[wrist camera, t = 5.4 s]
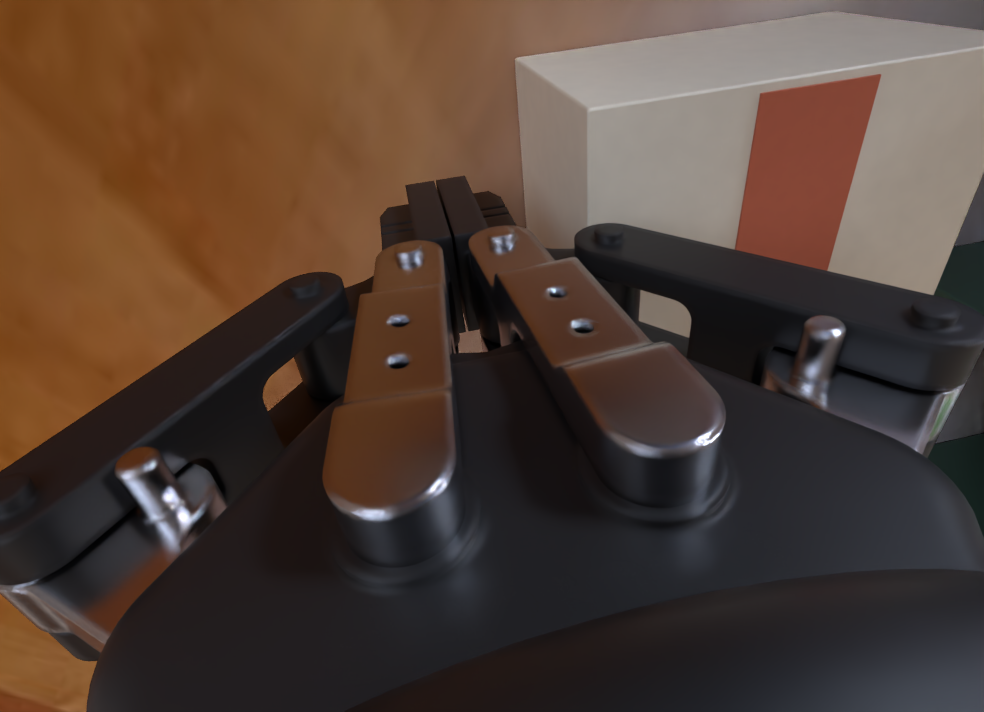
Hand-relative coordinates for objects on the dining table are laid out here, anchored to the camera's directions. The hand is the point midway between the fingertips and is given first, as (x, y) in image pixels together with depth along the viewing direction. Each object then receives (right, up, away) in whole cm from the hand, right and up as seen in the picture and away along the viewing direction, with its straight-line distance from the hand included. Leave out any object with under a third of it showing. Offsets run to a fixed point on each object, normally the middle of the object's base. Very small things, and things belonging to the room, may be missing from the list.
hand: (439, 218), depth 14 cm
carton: (+7, +3, +3) cm, 8 cm away
